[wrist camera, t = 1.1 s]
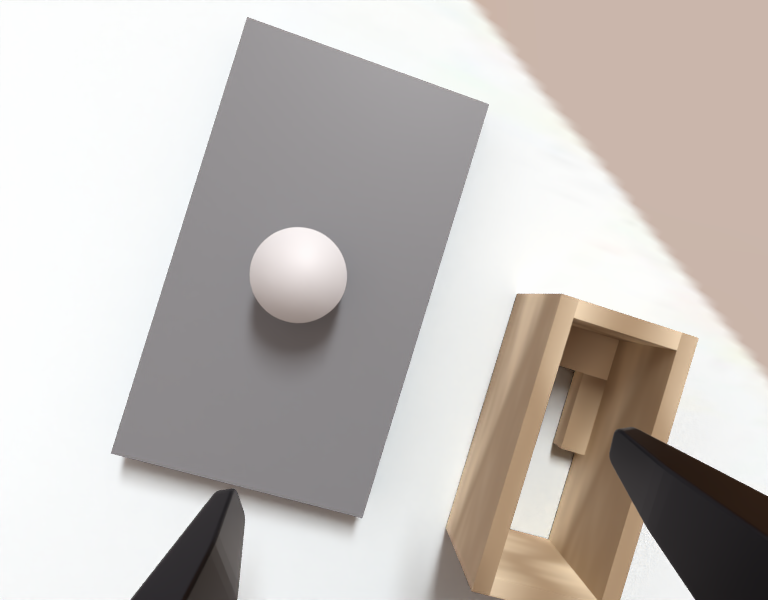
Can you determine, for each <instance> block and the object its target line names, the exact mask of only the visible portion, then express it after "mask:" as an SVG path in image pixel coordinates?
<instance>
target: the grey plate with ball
mask: <svg viewBox="0 0 768 600" xmlns="http://www.w3.org/2000/svg"><path fill="white" fill-rule="evenodd" d="M488 106H489V104H487V103H484V102H481V101H478V100H475V99H473V98H470V97H467V96H464V95H462V94H459V93H456V92H453V91H451V90H448V89H445V88H442V87H439V86H437V85H434V84H431V83H428V82H426V81H423V80H420V79H417V78H415V77H412V76H409V75H406V74H403V73H401V72H398V71H395V70H392V69H390V68H387V67H384V66H381V65H379V64H376V63H373V62H370V61H367V60H365V59H362V58H359V57H356V56H354V55H351V54H348V53H345V52H343V51H340V50H337V49H334V48H331V47H329V46H326V45H323V44H320V43H318V42H315V41H312V40H309V39H307V38H304V37H301V36H298V35H295V34H293V33H290V32H287V31H284V30H282V29H279V28H276V27H273V26H271V25H268V24H265V23H262V22H259V21H257V20H254V19H251V18H248V17H247V20H246V23H245V26H244V29H243V33H242V36H241V39H240V42H239V45H238V49H237V52H236V55H235V58H234V61H233V65H232V68H231V71H230V74H229V77H228V81H227V84H226V87H225V90H224V93H223V96H222V100H221V103H220V106H219V109H218V112H217V116H216V119H215V122H214V125H213V128H212V132H211V135H210V138H209V141H208V144H207V148H206V151H205V154H204V157H203V160H202V164H201V167H200V170H199V173H198V176H197V180H196V183H195V186H194V189H193V192H192V196H191V199H190V202H189V205H188V208H187V212H186V215H185V218H184V221H183V224H182V228H181V231H180V234H179V237H178V240H177V244H176V247H175V250H174V253H173V256H172V260H171V263H170V266H169V269H168V272H167V276H166V279H165V282H164V285H163V288H162V292H161V295H160V298H159V301H158V304H157V308H156V311H155V314H154V317H153V320H152V324H151V327H150V330H149V333H148V336H147V340H146V343H145V346H144V349H143V352H142V356H141V359H140V362H139V365H138V368H137V372H136V375H135V378H134V381H133V384H132V388H131V391H130V394H129V397H128V400H127V404H126V407H125V410H124V413H123V416H122V420H121V423H120V426H119V429H118V432H117V436H116V439H115V442H114V445H113V448H112V452H111V454H115V455H119V456H123V457H127V458H131V459H135V460H138V461H142V462H146V463H150V464H154V465H158V466H162V467H166V468H169V469H173V470H177V471H181V472H185V473H189V474H193V475H197V476H200V477H204V478H208V479H212V480H216V481H220V482H224V483H228V484H232V485H235V486H239V487H243V488H247V489H251V490H255V491H259V492H263V493H266V494H270V495H274V496H278V497H282V498H286V499H290V500H294V501H297V502H301V503H305V504H309V505H313V506H317V507H321V508H325V509H329V510H332V511H336V512H340V513H344V514H348V515H352V516H356V517H360V518H362V517H363V514H364V510H365V507H366V504H367V501H368V497H369V494H370V491H371V488H372V484H373V481H374V478H375V475H376V471H377V468H378V465H379V461H380V458H381V455H382V452H383V448H384V445H385V442H386V439H387V435H388V432H389V429H390V426H391V422H392V419H393V416H394V413H395V409H396V406H397V403H398V399H399V396H400V393H401V390H402V386H403V383H404V380H405V377H406V373H407V370H408V367H409V364H410V360H411V357H412V354H413V351H414V347H415V344H416V341H417V337H418V334H419V331H420V328H421V324H422V321H423V318H424V315H425V311H426V308H427V305H428V302H429V298H430V295H431V292H432V289H433V285H434V282H435V279H436V275H437V272H438V269H439V266H440V262H441V259H442V256H443V253H444V249H445V246H446V243H447V240H448V236H449V233H450V230H451V227H452V223H453V220H454V217H455V213H456V210H457V207H458V204H459V200H460V197H461V194H462V191H463V187H464V184H465V181H466V178H467V174H468V171H469V168H470V165H471V161H472V158H473V155H474V151H475V148H476V145H477V142H478V138H479V135H480V132H481V129H482V125H483V122H484V119H485V116H486V112H487V109H488Z"/></svg>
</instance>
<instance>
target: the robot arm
mask: <svg viewBox="0 0 768 600" xmlns="http://www.w3.org/2000/svg"><path fill="white" fill-rule="evenodd" d="M609 458H610V461H611V464H612V466H613V468H614V469H615V471H616V473H617V475H618V477H619V479H620V480H621V482H622V484H623V486H624V488H625V489H626V491H627V493H628V495H629V497H630V499H631V500H632V502H633V504H634V506H635V508H636V509H637V511H638V513H639V515H640V517H641V518H642V520H643V522H644V523H645V525H646V527H647V528H648V530H649V531H650V533H651V535H652V536H653V538H654V539H655V541H656V542H657V544H658V545H659V547H660V548H661V550H662V551H663V553H664V554H665V556H666V557H667V558H668V560H669V561H670V563H671V564H672V566H673V567H674V569H675V570H676V572H677V573H678V575H679V576H680V578H681V579H682V581H683V582H684V584H685V585H686V587H687V588H688V590H689V591H690V593H691V594H692V596H693V597H694V599H695V600H768V496H766V495H764V494H762V493H761V492H759V491H757V490H755V489H753V488H751V487H749V486H747V485H745V484H743V483H741V482H739V481H737V480H735V479H734V478H732V477H730V476H728V475H726V474H724V473H722V472H720V471H718V470H716V469H714V468H712V467H710V466H708V465H707V464H705V463H703V462H701V461H699V460H697V459H695V458H693V457H691V456H689V455H687V454H685V453H683V452H681V451H680V450H678V449H676V448H674V447H672V446H670V445H668V444H666V443H664V442H662V441H660V440H658V439H656V438H654V437H653V436H651V435H649V434H647V433H645V432H643V431H641V430H639V429H637V428H635V427H626V428H619V429H616V430H615V432H614V434H613V438H612V443H611V447H610V451H609ZM244 526H245V515H244V511H243V508H242V505H241V502H240V499H239V496H238V493H237V491H236V490H235V489H226V490H220V491H217V492H216V493H214V494H213V496H212V497H211V498H210V499H209V501H208V502H207V503H206V504H205V506H204V507H203V508H202V510H201V511H200V512H199V513H198V515H197V516H196V517H195V518H194V520H193V521H192V522H191V524H190V525H189V526H188V527H187V529H186V530H185V531H184V532H183V534H182V535H181V536H180V537H179V539H178V540H177V541H176V543H175V544H174V545H173V546H172V548H171V549H170V550H169V551H168V553H167V554H166V555H165V557H164V558H163V559H162V560H161V562H160V563H159V564H158V565H157V567H156V568H155V569H154V571H153V572H152V573H151V574H150V576H149V577H148V578H147V579H146V581H145V582H144V583H143V584H142V586H141V587H140V588H139V590H138V591H137V592H136V593H135V595H134V596H133V597H132V598H131V600H237V597H238V588H239V578H240V568H241V557H242V547H243V536H244Z"/></svg>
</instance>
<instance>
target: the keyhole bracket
mask: <svg viewBox="0 0 768 600" xmlns="http://www.w3.org/2000/svg"><path fill="white" fill-rule="evenodd" d="M697 342H698V338H697V337H694V336H691V335H688V334H685V333H681V332H678V331H675V330H672V329H669V328H666V327H663V326H660V325H657V324H654V323H650V322H647V321H644V320H641V319H638V318H635V317H632V316H629V315H626V314H623V313H619V312H616V311H613V310H610V309H607V308H604V307H601V306H598V305H595V304H592V303H588V302H585V301H582V300H579V299H576V298H573V297H570V296H567V295H564V294H517V296H516V299H515V302H514V305H513V309H512V312H511V315H510V319H509V322H508V325H507V328H506V332H505V335H504V338H503V342H502V345H501V348H500V351H499V355H498V358H497V361H496V365H495V368H494V371H493V374H492V378H491V381H490V384H489V388H488V391H487V394H486V397H485V401H484V404H483V407H482V411H481V414H480V417H479V420H478V424H477V427H476V430H475V434H474V437H473V440H472V443H471V447H470V450H469V453H468V457H467V460H466V463H465V466H464V470H463V473H462V476H461V480H460V483H459V486H458V489H457V493H456V496H455V499H454V503H453V506H452V509H451V512H450V516H449V519H448V522H447V526H446V530H447V532H448V534H449V537H450V539H451V542H452V544H453V547H454V549H455V552H456V554H457V557H458V559H459V562H460V564H461V566H462V569H463V571H464V574H465V576H466V579H467V581H468V584H469V586H470V589H471V591H472V592H476V593H480V594H484V595H488V596H492V597H496V598H500V599H504V600H620V598H621V595H622V592H623V588H624V585H625V582H626V578H627V575H628V572H629V568H630V565H631V562H632V558H633V555H634V552H635V548H636V545H637V542H638V538H639V535H640V532H641V528H642V525H643V520H642V518H641V517H640V515H639V513H638V511H637V509H636V508H635V506H634V504H633V502H632V500H631V499H630V497H629V495H628V493H627V491H626V489H625V488H624V486H623V484H622V482H621V480H620V479H619V477H618V475H617V473H616V471H615V469H614V468H613V466H612V464H611V461H610V458H609V451H610V447H611V443H612V438H613V434H614V432H615V430H616V429H619V428H626V427H635V428H637V429H639V430H641V431H643V432H645V433H647V434H649V435H651V436H653V437H654V438H656V439H658V440H660V441H662V442H664V443H666V444H667V442H668V438H669V435H670V432H671V428H672V425H673V422H674V418H675V415H676V412H677V408H678V405H679V402H680V398H681V395H682V392H683V388H684V385H685V382H686V378H687V375H688V372H689V368H690V365H691V362H692V358H693V355H694V352H695V348H696V345H697ZM559 366H562V367H565V368H568V369H571V370H575V372H574V375H573V379H572V382H571V385H570V389H569V392H568V395H567V398H566V402H565V405H564V408H563V412H562V415H561V418H560V422H559V425H558V428H557V432H556V435H555V438H554V441H553V443H554V444H555V445H557V446H558V447H559V448H561V449H564V450H568V451H571V452H575V454H574V457H573V460H572V464H571V467H570V470H569V473H568V477H567V480H566V483H565V487H564V490H563V493H562V497H561V500H560V503H559V507H558V510H557V513H556V516H555V520H554V523H553V526H552V530H551V533H550V536H549V539H545V538H542V537H538V536H534V535H530V534H527V533H523V532H519V531H515V530H511V529H510V526H511V523H512V520H513V516H514V513H515V510H516V506H517V503H518V500H519V497H520V493H521V490H522V487H523V483H524V480H525V477H526V473H527V470H528V467H529V464H530V460H531V457H532V454H533V450H534V447H535V444H536V440H537V437H538V434H539V431H540V427H541V424H542V421H543V417H544V414H545V411H546V407H547V404H548V401H549V398H550V394H551V391H552V388H553V384H554V381H555V378H556V374H557V371H558V368H559Z"/></svg>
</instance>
